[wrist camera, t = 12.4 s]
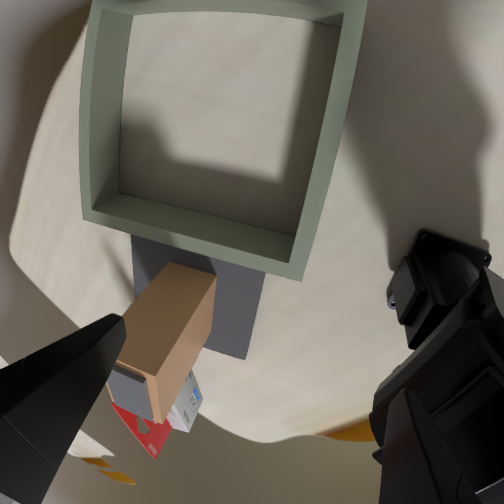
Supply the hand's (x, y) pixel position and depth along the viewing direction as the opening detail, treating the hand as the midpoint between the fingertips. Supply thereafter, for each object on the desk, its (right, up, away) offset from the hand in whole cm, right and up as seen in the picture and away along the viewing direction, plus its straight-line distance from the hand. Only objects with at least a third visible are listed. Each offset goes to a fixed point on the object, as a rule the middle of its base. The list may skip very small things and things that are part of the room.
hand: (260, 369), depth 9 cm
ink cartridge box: (-8, -9, +23) cm, 26 cm away
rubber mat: (-5, 0, +17) cm, 18 cm away
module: (-5, 0, +16) cm, 17 cm away
